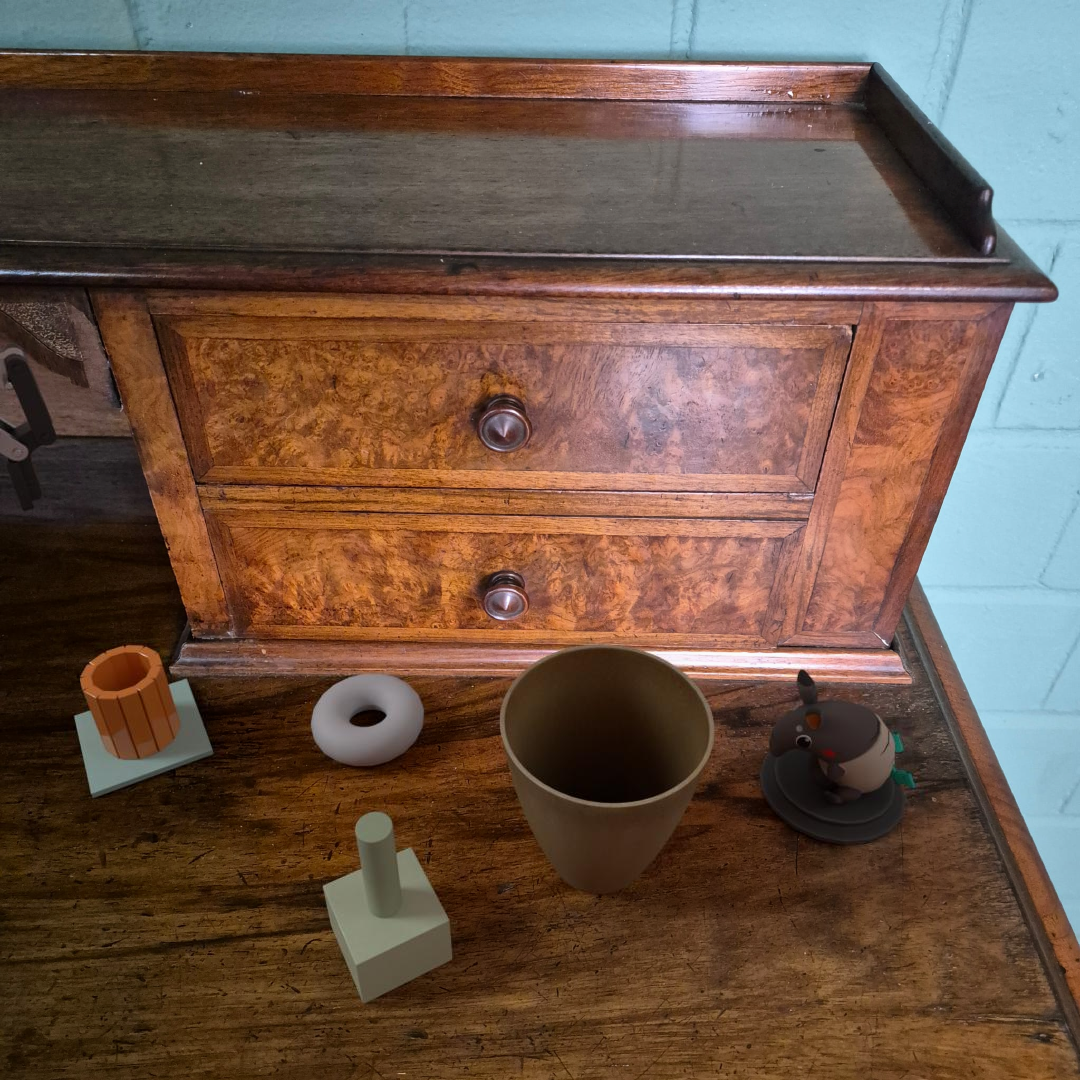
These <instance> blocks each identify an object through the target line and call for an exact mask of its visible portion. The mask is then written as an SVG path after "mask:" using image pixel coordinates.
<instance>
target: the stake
mask: <svg viewBox="0 0 1080 1080" xmlns="http://www.w3.org/2000/svg"><path fill="white" fill-rule="evenodd" d="M354 833H355V838H356V844H357V850H358V856H359V862H360V869H358V870H356V871H352V872H350V873H348V874H346V875H344V876H342V877H340V878H337V879H335V880H333V881H330V882H328V883H325V884H324V885H323V886H322V889H323V894H324V895H323V896H324V898H325V905H326V908H327V913H328V918H329V922H330V926H331V929H332V932H333V934H334V937H335V938H336V941H337V944H338V947H339V948H340V951H341V953H342V955H343V958H344V961H345V963H346V966H347V968H348V970H349V973H350V975H351V977H352V980H353V982H354V985H355V987H356V990H357V992H358V995H359V998H360V1000H361V1003H362V1004H363V1005H364V1004H366V1003H369V1002H371V1001H373V1000H374V999H376V998H379V997H380V996H382V995H384V994H386V993H389V992H391V991H393V990H394V989H397V988H399V987H400V986H402V985H405V984H407V983H408V982H410V981H413V980H414V979H416V978H418V977H420V976H422V975H425V974H426V973H428V972H430V971H432V970H434V969H436V968H438V967H440V966H442V965H444V964H446V963H448V962H450V961H452V960H453V949H452V939H451V937H452V936H451V923H450V919H449V917H448V915H447V913H446V910H445V909H444V907H443V906H442V903H441V902H440V898H438V896H437V894H436V892H435V889H434V888H433V886H432V883H431V882H430V880H429V878H428V876H427V874H426V872H425V871H424V869H423V867H422V865H421V863H420V861H419V859H418V857H417V856H416V853H415V852H414V850H413V848H412V846H411V847H407V848H406V849H402V850H401V851H399V852H397V847H396V839H395V832H394V825H393V820H392V818H391V817H390V816H389V815H388V814H386V813H384V812H381V811H372V812H371V811H370V812H368V813H366V814H364V815H362V816H361V817H360V818H359V819H358V821H356V824H355V828H354Z"/></svg>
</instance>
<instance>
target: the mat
mask: <svg viewBox="0 0 1080 1080" xmlns="http://www.w3.org/2000/svg"><path fill="white" fill-rule="evenodd" d="M168 684H169V688H170V691H171V694H172V697H173V701H174V704H175V707H176V710H177V714H178V717H179V720H180V723H181V724H180V728H179V731H178V733H177V735H176V738H175V739H173V741H172V742H171V743H170V744H169V745H168V746H166V747H165V748H164V749H163V750H162V751H159V750H157V751H158V753H156V754H154V755H151V756H148V757H145V758H142V759H140V757H138V759H137V760H136V759H121V758H119V759H118V758H116V757H115V756H113V755H111V754H110V753H108V752H107V750H105V747H104V745H103V742H102V739H101V737H100V734H99V732H98V729H97V726H96V724H95V721H94V719H93V716H92V714H91V711H90V710H88V711H84V712H82V713H79V714H76V715H73V716H74V721H75V725H76V731H77V735H78V740H79V744H80V749H81V753H82V757H83V762H84V768H85V771H86V776H87V781H88V786H89V790H90V794H91V796H92V798H93V799H95V798H98V797H100V796H103V795H105V794H108V793H112V792H113V791H117V790H120V789H122V788H124V787H127V786H128V787H129V786H131V785H133V784H136V783H138V782H140V781H145V780H147V779H149V778H152V777H155V776H157V775H160V774H163V773H165V772H168V771H169V772H170V771H171V770H174V769H176V768H177V769H178V768H180V767H182V766H185V765H187V764H190V763H193V762H195V761H198V760H201V759H204V758H207V757H209V756H212V755H214V751H213V747H212V745H211V742H210V739H209V735H208V734H207V730H206V727H205V726H204V721H203V719H202V716H201V714H200V712H199V709H198V706H197V703H196V700H195V697H194V695H193V692H192V689H191V685H190V684H189V681H188V679H187V678H184V679H181V680H177V681H175V682H172V683H168Z"/></svg>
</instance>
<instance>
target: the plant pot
mask: <svg viewBox="0 0 1080 1080" xmlns="http://www.w3.org/2000/svg"><path fill="white" fill-rule="evenodd" d="M499 728H500V729H499V731H500V736H501V740H502V744H503V751H504V753H505V756H506V761H507V764H508V769H509V773H510V778H511V780H512V783H513V786H514V787H513V788H514V790H515V794H516V796H517V798H518V801H519V804H520V806H521V809H522V812H523V814H524V816H525V819H526V821H527V823H528V825H529V828H530V829H531V832H532V833H533V835H534V838H535V840H536V842H537V844H538V845H539V847H540V848H541V850H542V853H544V854H543V855H545V857H546V858H547V860H548V861H549V863H550V865H551V866H552V868H554V870H555V871H556V873H557V874H558V875H559V877H560V878H561V879H562V880H563V881H564V882H565V883H567V884H568V885H569V886H570V887H572V888H574V889H576V890H579V891H581V892H584V893H588V894H593V895H608V894H612V893H616V892H618V891H621V890H623V889H625V888H627V887H628V886H629V885H631V884H632V883H633V882H634V881H635V880H636V879H637V878H638V877H639V876H640V875H641V874H642V873H643V872H644V871H645V870H646V869H647V868H648V866H649V865H651V863H652V862H653V861H654V860H655V858H656V857H657V856H658V854H660V852H661V851H662V849H663V848H664V846H665V845H666V843H667V842H668V841H669V839H670V838H671V836H672V835H673V833H674V831H675V830H676V829H677V827H678V825H679V823H680V822H681V820H682V818H683V816H684V814H685V812H686V810H687V809H688V807H689V804H690V802H691V800H692V799H693V796H694V794H695V792H696V789H697V787H698V785H699V782H700V781H701V778H702V776H703V773H704V771H705V769H706V766H707V764H708V761H709V758H710V756H711V753H712V750H713V746H714V740H715V724H714V716H713V712H712V710H711V706H710V704H709V702H708V701H707V699H706V696H705V695H704V693H703V692H702V690H701V689H700V688H699V686H698V685H697V684H696V683H695V682H694V680H692V679H691V677H689V675H687V674H686V673H685V672H684V671H682V670H681V669H680V668H678V667H677V666H676V665H675V664H673V663H671V662H670V661H667V660H666V659H664V658H663V657H660V656H658V655H656V654H653V653H651V652H648V651H645V650H643V649H639V648H634V647H630V646H624V645H620V644H619V645H618V644H606V643H605V644H601V643H600V644H599V643H598V644H583V645H578V646H577V645H576V646H572V647H567V648H564V649H560V650H558V651H555V652H553V653H550V654H547V655H546V656H543V657H542V658H539V659H538V660H536V661H535V662H534V663H532V664H530V665H529V666H528V667H527V668H525V669H524V670H523V671H522V672H521V673H520V674H519V675H517V676H516V678H515V679H514V680H513V682H512V683H511V684H510V686H509V687H508V690H507V691H506V694H505V695H504V698H503V700H502V703H501V706H500V712H499Z"/></svg>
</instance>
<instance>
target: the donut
mask: <svg viewBox="0 0 1080 1080" xmlns="http://www.w3.org/2000/svg"><path fill="white" fill-rule="evenodd" d="M372 710H373V711H374V710H375V711H379V712H382V713H384V714H385V715H386V716H385V718H384V719H383V720H382V721H380V722H379V723H376V724H374V725H370V726H358V725H354V724H353V723H351V722H350V721H351V719H352V718H353V717H354V716H356V715H357V714H359V713H361V712H365V711H372ZM424 717H425V710H424V706H423V703H422V700H421V698H420V695H419V693H418V692H417V691H416V690H414V688H413V687H412V686H411V685H410V684H409V683H408V682H406V681H404V680H403V679H401V678H398V677H396V676H394V675H389V674H384V673H361V674H357V675H353V676H349V677H347V678H345V679H343V680H341V681H339V682H337V683H335V684H333V685H332V686H331V687H330V688H329V689H327V690H326V691H325V692H324V693H322V695H321V697H320V698H319V699H318V701H317V703H316V704H315V705H314V708H313V712H312V715H311V721H310V728H311V732H312V737H313V740H314V742H315V744H316V745H317V746H318V748H319V749H320V750H321V751H322V753H323V754H324V755H326V756H328V757H329V758H330V759H332V760H334V761H335V762H338V763H339V764H343V765H348V766H353V767H373V766H376V765H380V764H385V763H388V762H390V761H392V760H394V759H396V758H397V757H399V756H401V755H403V754H404V753H405V752H406V751H407V750H409V748H410V747H411V746H413V745H414V743H415V742H416V741H417V740H418V737H419V735H420V734H421V731H422V729H423V726H424Z"/></svg>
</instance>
